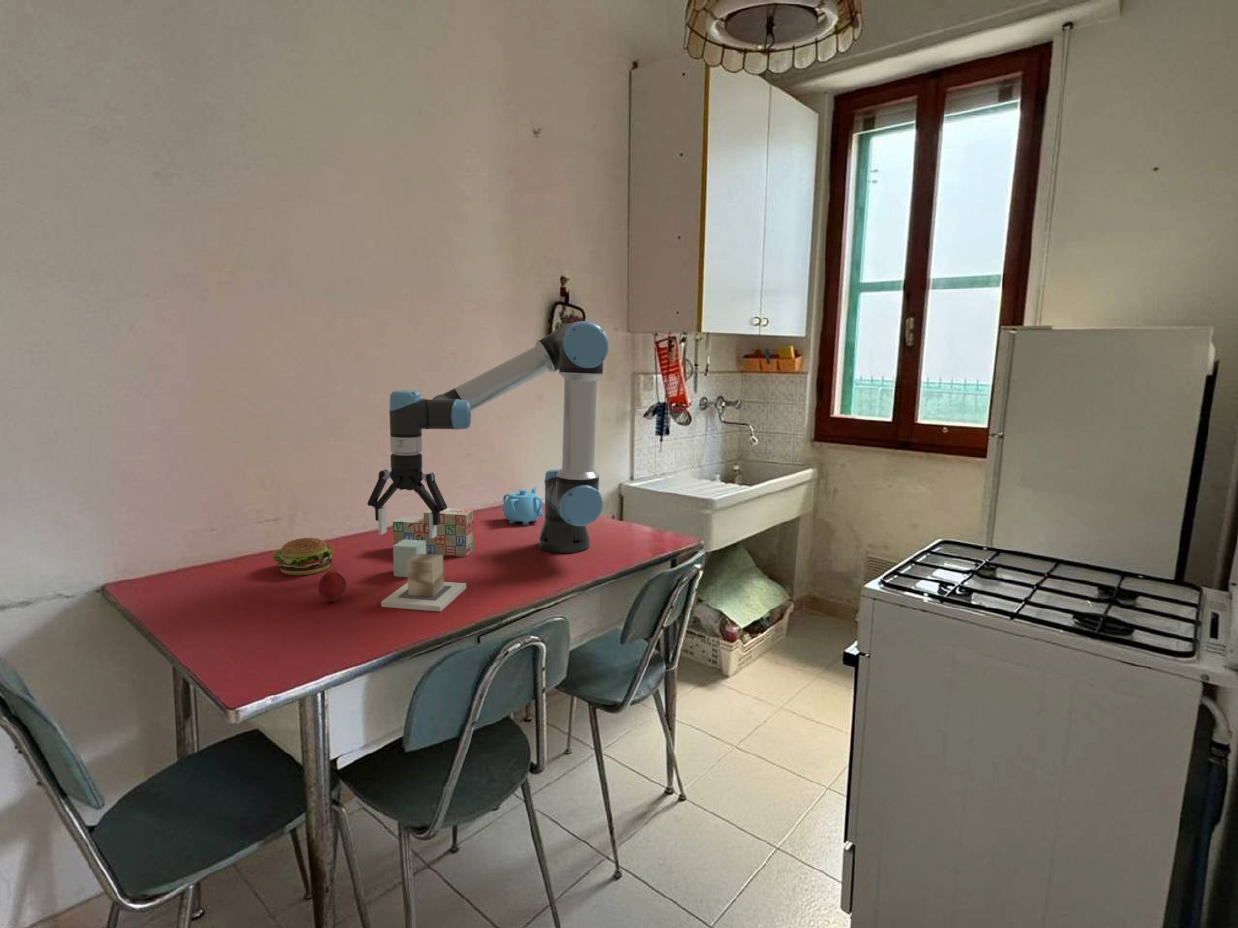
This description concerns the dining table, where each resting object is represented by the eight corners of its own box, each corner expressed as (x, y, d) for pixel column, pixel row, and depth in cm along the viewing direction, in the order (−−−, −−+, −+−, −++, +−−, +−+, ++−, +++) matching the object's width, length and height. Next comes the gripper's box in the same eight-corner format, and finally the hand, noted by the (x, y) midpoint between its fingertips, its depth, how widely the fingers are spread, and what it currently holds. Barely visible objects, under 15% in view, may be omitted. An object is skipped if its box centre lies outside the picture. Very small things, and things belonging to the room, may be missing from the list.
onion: (329, 608, 148) (327, 574, 147) (313, 603, 151) (311, 569, 150) (352, 600, 153) (350, 567, 152) (336, 595, 156) (334, 562, 155)
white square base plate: (466, 588, 163) (466, 582, 162) (440, 611, 148) (440, 605, 148) (411, 583, 165) (411, 578, 164) (381, 606, 150) (381, 600, 150)
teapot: (506, 529, 218) (507, 495, 215) (500, 516, 231) (500, 484, 229) (545, 526, 222) (545, 494, 220) (536, 514, 235) (536, 483, 233)
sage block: (426, 570, 175) (425, 540, 174) (416, 577, 169) (415, 547, 168) (405, 568, 176) (404, 539, 175) (394, 576, 170) (392, 545, 169)
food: (264, 569, 173) (262, 539, 172) (319, 557, 184) (317, 529, 182) (286, 582, 164) (284, 551, 163) (342, 569, 174) (340, 540, 173)
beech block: (443, 587, 159) (442, 555, 157) (433, 596, 153) (432, 563, 152) (419, 585, 160) (418, 553, 158) (408, 594, 154) (407, 561, 152)
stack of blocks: (393, 553, 189) (391, 510, 187) (402, 546, 195) (401, 505, 193) (466, 557, 187) (465, 514, 185) (474, 550, 193) (473, 509, 191)
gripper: (351, 452, 165) (354, 535, 169) (447, 458, 162) (448, 543, 165) (367, 448, 173) (369, 527, 176) (459, 453, 169) (460, 535, 173)
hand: (407, 535), depth 171 cm, fingers open, 13 cm apart
